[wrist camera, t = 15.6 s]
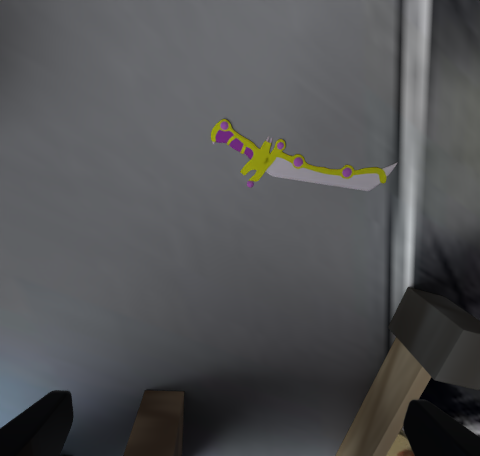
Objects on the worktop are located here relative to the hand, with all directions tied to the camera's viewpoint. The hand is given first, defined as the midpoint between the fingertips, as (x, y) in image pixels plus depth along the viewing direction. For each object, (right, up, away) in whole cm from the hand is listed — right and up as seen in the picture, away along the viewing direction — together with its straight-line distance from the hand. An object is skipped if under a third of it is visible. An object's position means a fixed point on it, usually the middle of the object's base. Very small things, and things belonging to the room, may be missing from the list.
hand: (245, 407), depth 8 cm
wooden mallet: (+11, -8, +15) cm, 20 cm away
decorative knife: (+4, +9, +11) cm, 14 cm away
